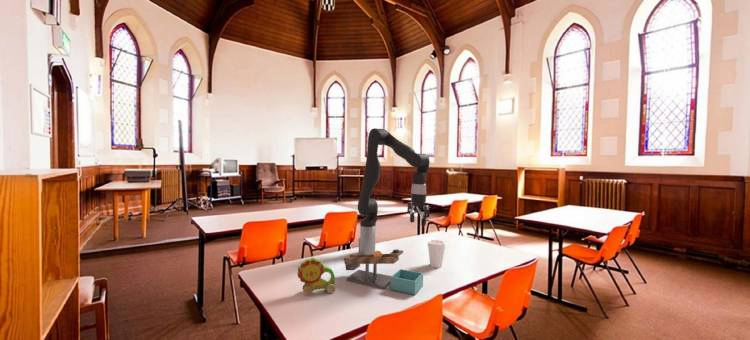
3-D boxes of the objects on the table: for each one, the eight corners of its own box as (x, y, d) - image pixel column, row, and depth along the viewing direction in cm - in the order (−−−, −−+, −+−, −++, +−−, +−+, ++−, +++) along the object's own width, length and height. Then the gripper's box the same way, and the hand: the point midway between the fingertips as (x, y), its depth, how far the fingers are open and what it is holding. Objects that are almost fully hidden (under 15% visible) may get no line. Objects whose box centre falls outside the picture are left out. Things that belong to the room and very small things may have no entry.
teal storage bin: (390, 290, 143) (391, 276, 143) (400, 281, 153) (400, 268, 153) (414, 295, 138) (415, 281, 138) (422, 285, 149) (423, 273, 148)
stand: (346, 280, 153) (346, 260, 152) (358, 272, 164) (359, 253, 163) (384, 289, 144) (385, 267, 144) (395, 280, 155) (395, 259, 154)
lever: (345, 270, 156) (343, 258, 156) (363, 259, 173) (361, 248, 173) (394, 270, 145) (392, 257, 145) (408, 258, 161) (407, 247, 161)
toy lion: (333, 288, 145) (333, 254, 144) (335, 293, 139) (335, 258, 139) (297, 291, 140) (297, 257, 140) (297, 297, 135) (297, 261, 134)
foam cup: (443, 263, 180) (444, 240, 179) (445, 269, 171) (446, 244, 170) (426, 262, 181) (427, 239, 180) (427, 268, 172) (428, 244, 171)
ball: (372, 260, 151) (371, 251, 151) (376, 257, 154) (375, 249, 154) (380, 260, 149) (379, 251, 149) (383, 258, 153) (382, 249, 153)
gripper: (404, 191, 169) (403, 222, 170) (422, 194, 157) (421, 227, 158) (415, 190, 173) (414, 220, 174) (433, 194, 161) (432, 226, 162)
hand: (417, 223), depth 166 cm, fingers open, 8 cm apart
